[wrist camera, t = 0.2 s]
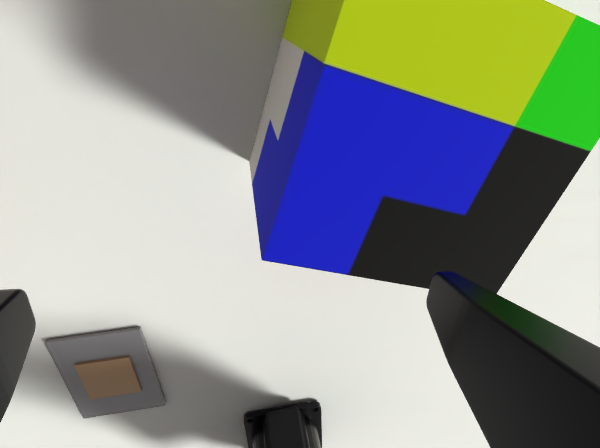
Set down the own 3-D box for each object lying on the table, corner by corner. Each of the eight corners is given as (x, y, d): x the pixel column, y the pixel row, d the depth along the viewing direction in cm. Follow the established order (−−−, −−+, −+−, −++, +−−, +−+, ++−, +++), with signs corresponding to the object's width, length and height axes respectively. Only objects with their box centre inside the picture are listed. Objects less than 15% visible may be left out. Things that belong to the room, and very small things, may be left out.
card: (165, 401, 31) (164, 407, 30) (84, 415, 30) (82, 420, 29) (140, 326, 27) (138, 331, 26) (46, 339, 26) (43, 345, 26)
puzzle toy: (249, 160, 22) (261, 260, 14) (302, -40, 18) (369, -80, 9) (402, 197, 25) (492, 299, 16) (479, 31, 21) (657, 51, 12)
